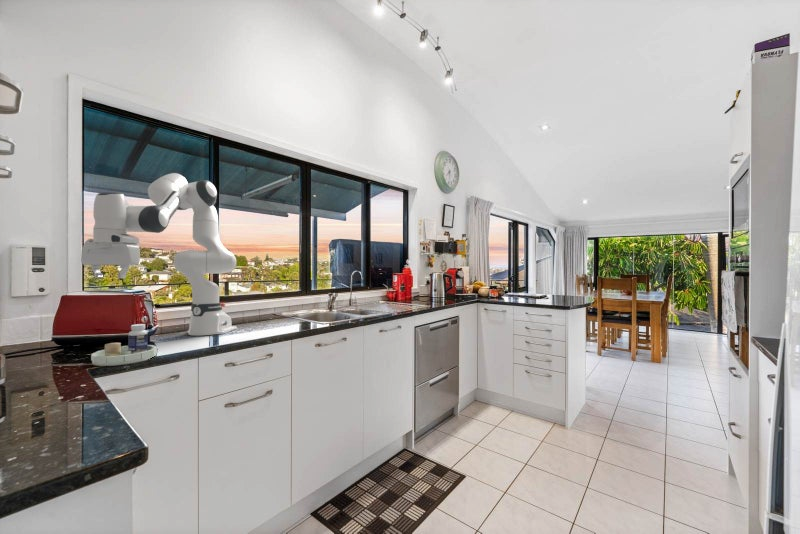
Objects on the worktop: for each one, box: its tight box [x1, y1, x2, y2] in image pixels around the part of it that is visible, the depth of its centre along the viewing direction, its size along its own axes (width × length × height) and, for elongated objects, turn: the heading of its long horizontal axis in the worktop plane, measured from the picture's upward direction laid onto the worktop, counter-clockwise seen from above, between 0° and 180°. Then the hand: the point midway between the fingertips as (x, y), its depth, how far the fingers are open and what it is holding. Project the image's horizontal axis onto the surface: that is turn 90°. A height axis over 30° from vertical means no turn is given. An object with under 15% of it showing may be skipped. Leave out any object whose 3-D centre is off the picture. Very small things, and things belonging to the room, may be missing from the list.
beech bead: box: [104, 342, 122, 356], centre depth 112 cm, size 4×4×5 cm
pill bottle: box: [127, 323, 149, 354], centre depth 121 cm, size 5×5×10 cm
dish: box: [90, 344, 158, 367], centre depth 117 cm, size 17×17×3 cm
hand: (110, 278), depth 119 cm, fingers open, 8 cm apart
